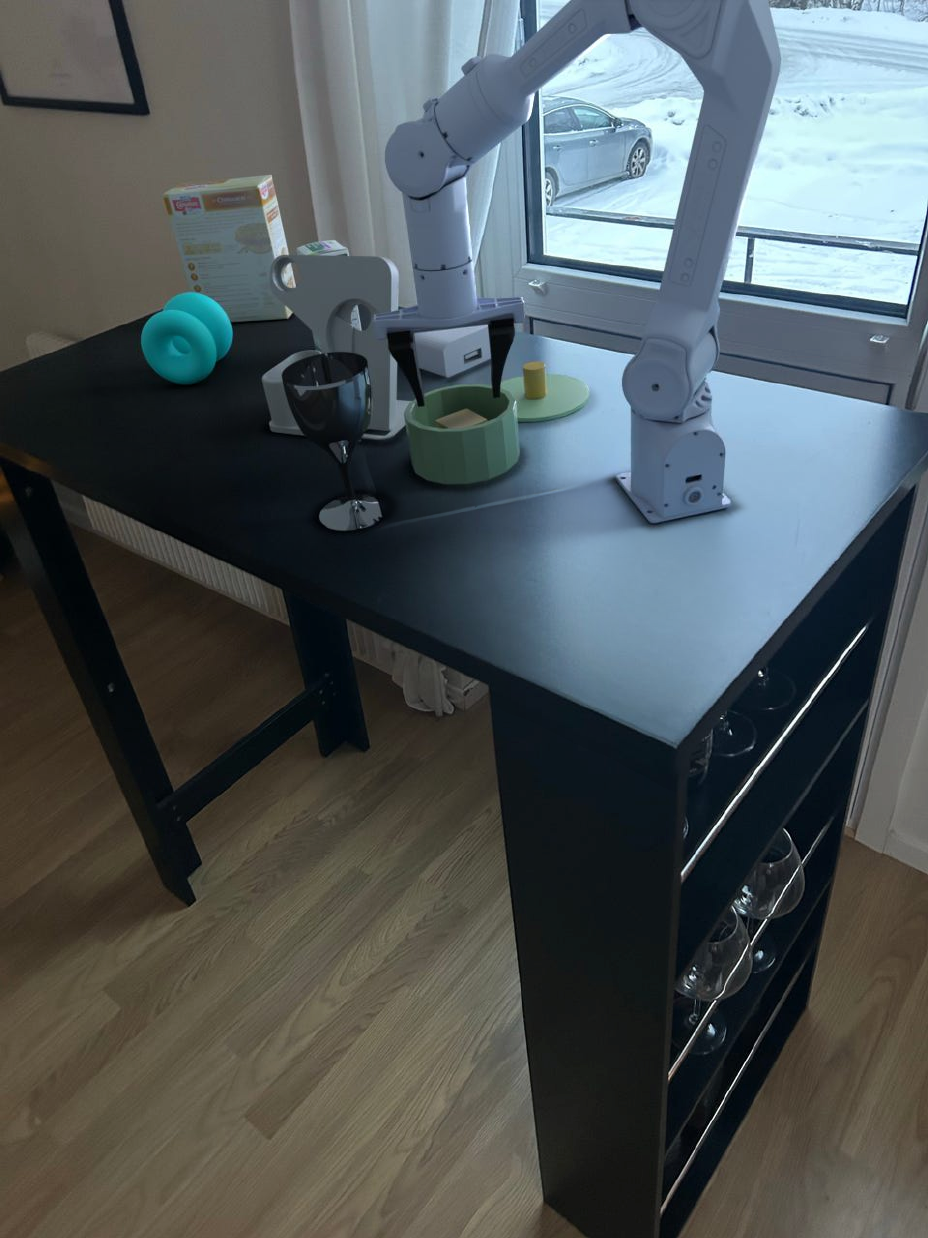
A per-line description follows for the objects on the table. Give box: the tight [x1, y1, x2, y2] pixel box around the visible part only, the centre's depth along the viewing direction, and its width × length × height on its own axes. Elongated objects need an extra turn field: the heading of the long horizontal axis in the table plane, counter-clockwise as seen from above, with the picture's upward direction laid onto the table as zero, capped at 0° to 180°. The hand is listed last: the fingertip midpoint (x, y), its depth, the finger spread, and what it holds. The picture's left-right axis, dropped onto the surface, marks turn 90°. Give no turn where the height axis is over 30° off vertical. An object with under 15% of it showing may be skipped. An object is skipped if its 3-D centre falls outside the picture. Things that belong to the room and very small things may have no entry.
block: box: [435, 408, 488, 429], centre depth 97 cm, size 4×4×4 cm
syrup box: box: [296, 239, 363, 352], centre depth 124 cm, size 6×6×14 cm
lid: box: [500, 360, 590, 423], centre depth 107 cm, size 12×12×5 cm
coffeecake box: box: [162, 174, 297, 323], centre depth 141 cm, size 15×7×20 cm, turn 82°
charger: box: [414, 325, 491, 379], centre depth 122 cm, size 5×9×15 cm
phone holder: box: [261, 254, 413, 443], centre depth 105 cm, size 17×10×18 cm, turn 65°
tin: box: [404, 383, 521, 485], centre depth 96 cm, size 11×11×6 cm
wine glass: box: [282, 352, 385, 532], centre depth 88 cm, size 8×8×15 cm
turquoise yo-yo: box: [140, 291, 234, 386], centre depth 125 cm, size 10×10×10 cm
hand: (458, 398), depth 94 cm, fingers open, 7 cm apart
